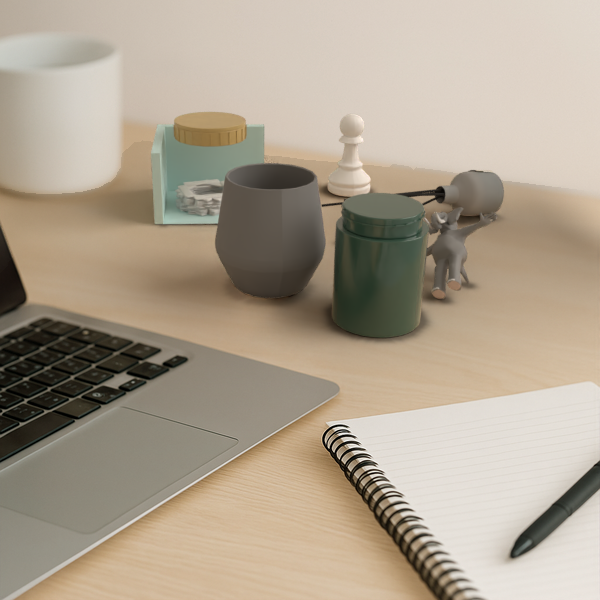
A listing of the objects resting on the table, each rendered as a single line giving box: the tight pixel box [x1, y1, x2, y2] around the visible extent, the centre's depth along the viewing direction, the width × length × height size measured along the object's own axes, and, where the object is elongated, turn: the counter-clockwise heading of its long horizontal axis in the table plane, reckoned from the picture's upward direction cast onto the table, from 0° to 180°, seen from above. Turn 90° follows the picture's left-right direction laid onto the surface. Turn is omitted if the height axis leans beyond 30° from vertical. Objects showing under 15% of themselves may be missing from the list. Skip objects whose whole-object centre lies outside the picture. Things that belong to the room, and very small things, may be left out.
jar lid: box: [173, 111, 248, 147], centre depth 88 cm, size 8×8×2 cm
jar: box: [331, 192, 430, 339], centre depth 65 cm, size 7×7×10 cm
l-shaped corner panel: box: [150, 123, 265, 225], centre depth 90 cm, size 12×12×8 cm
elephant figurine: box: [423, 207, 498, 300], centre depth 73 cm, size 10×6×9 cm
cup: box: [214, 162, 327, 299], centre depth 70 cm, size 10×9×10 cm
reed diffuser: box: [321, 169, 505, 217], centre depth 86 cm, size 10×7×20 cm
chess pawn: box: [327, 113, 372, 198], centre depth 95 cm, size 5×5×9 cm
